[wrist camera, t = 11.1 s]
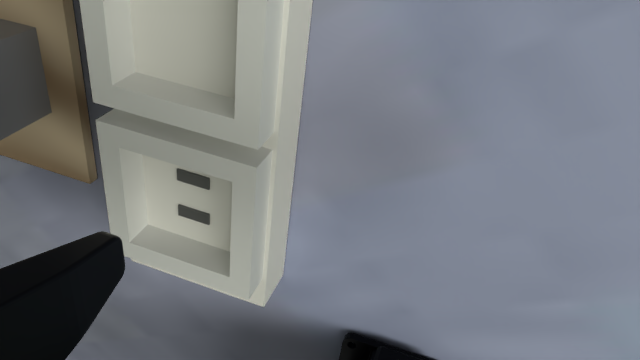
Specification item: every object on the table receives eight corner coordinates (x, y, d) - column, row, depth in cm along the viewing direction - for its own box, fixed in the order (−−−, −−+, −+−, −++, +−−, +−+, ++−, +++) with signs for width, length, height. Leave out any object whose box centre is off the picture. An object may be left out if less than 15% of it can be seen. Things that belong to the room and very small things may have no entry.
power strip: (283, 275, 29) (250, 329, 25) (158, 232, 30) (113, 278, 27) (327, -135, 18) (281, -131, 15) (131, -166, 20) (51, -169, 16)
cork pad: (97, 178, 30) (90, 183, 29) (-20, 140, 31) (-29, 145, 31) (64, -53, 23) (54, -51, 22) (-82, -86, 24) (-95, -84, 24)
